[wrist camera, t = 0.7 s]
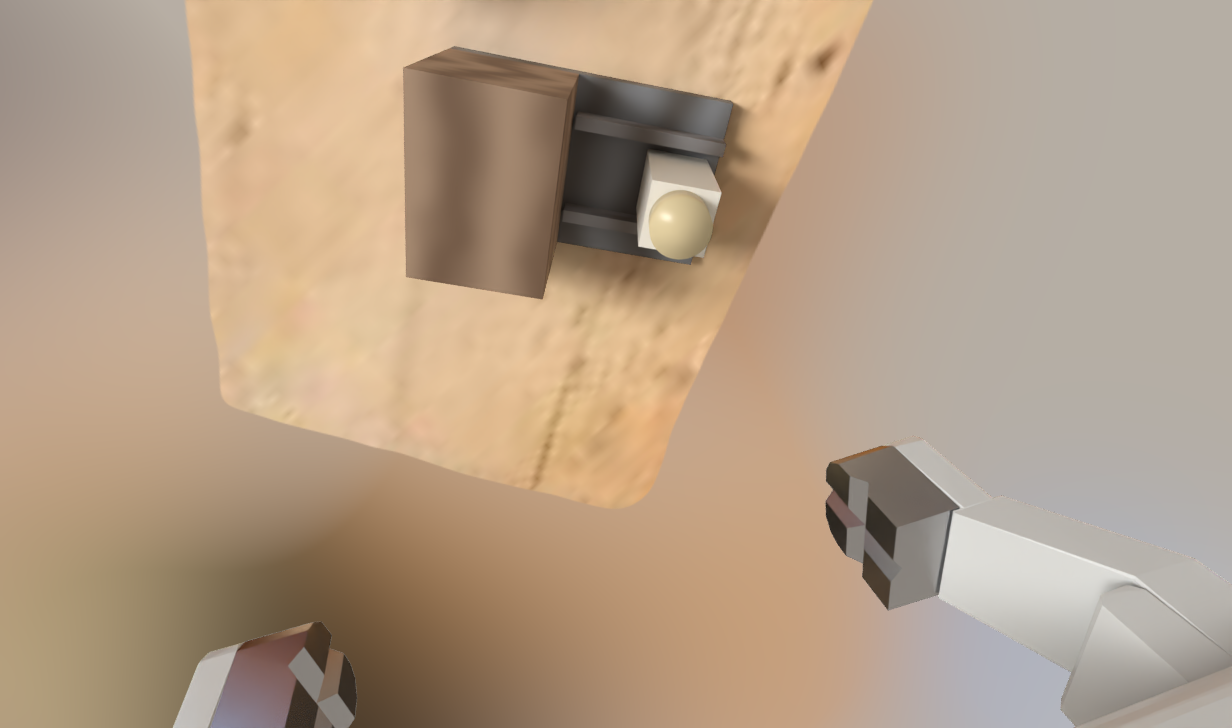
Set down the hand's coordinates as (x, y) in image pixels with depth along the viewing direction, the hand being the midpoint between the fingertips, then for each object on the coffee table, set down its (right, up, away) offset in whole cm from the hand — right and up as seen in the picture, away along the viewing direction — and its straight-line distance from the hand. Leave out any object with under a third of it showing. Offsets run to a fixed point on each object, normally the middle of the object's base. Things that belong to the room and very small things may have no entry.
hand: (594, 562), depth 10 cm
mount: (-3, +21, +42) cm, 47 cm away
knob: (+5, +18, +42) cm, 46 cm away
